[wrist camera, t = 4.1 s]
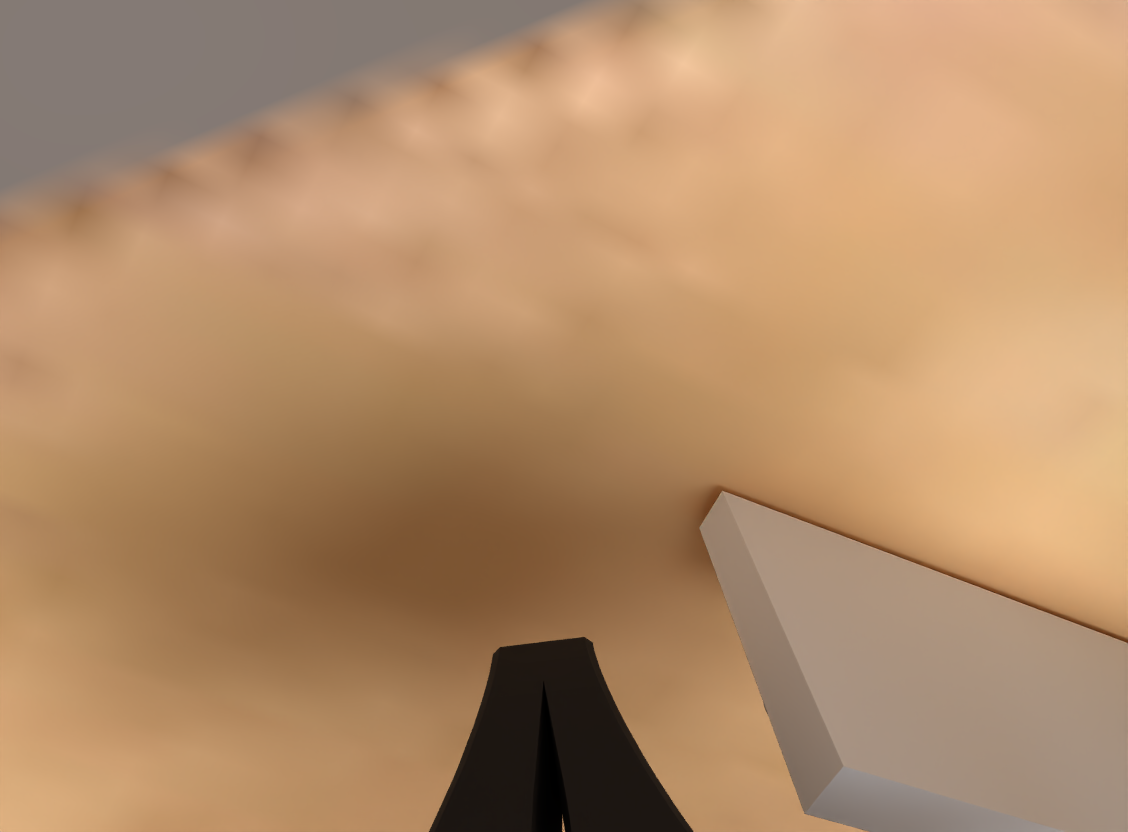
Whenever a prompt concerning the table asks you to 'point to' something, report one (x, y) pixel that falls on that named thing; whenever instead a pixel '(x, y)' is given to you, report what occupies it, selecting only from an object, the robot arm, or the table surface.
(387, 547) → the table surface
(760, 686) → the door
